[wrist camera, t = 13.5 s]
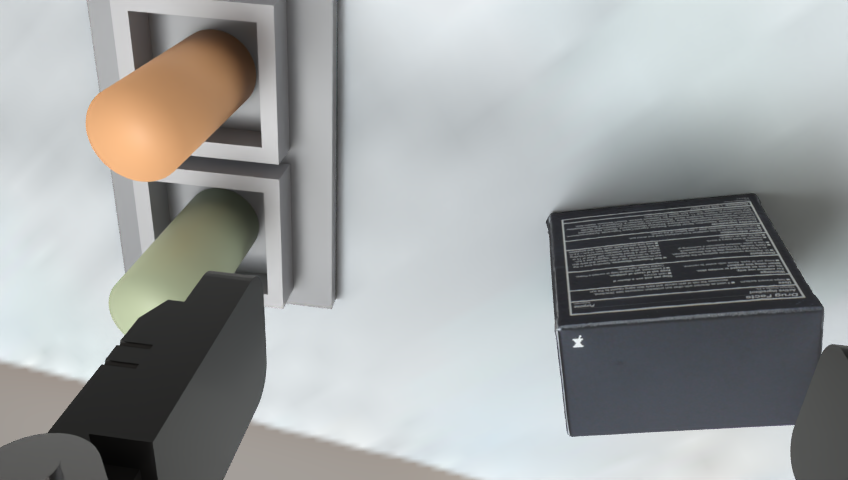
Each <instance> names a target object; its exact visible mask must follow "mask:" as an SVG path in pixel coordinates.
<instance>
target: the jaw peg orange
mask: <svg viewBox="0 0 848 480" xmlns="http://www.w3.org/2000/svg"><path fill="white" fill-rule="evenodd" d="M255 83H256V68H255V64H254V61H253V59H252V57H251V55H250V53H249V51H248V50H247V48H246V47H245V46H244V45H243V44H242V43H241V42H240V41H239V40H238V39H236V38H235V37H234V36H232V35H230V34H228V33H226V32H223V31H220V30H214V29H207V30H201V31H198V32H196V33H194V34H192V35H190V36H189V37H187V38H186V39H184V40H182V41H181V42H179V43H178V44H176V45H174V46H173V47H171V48H170V49H168V50H167V51H165V52H163V53H162V54H160V55H159V56H157V57H155V58H154V59H152V60H151V61H149V62H148V63H146V64H144V65H143V66H141V67H140V68H138V69H136V70H135V71H133V72H132V73H130V74H129V75H127V76H125V77H124V78H122V79H121V80H119V81H117V82H116V83H114V84H113V85H111V86H110V87H108V88H106V89H105V90H103V91H102V92H100V93H99V94H98V95H97V96H96V97H95V98H94V99H93V100H92V102H91V104H90V105H89V108H88V111H87V115H86V131H87V135H88V138H89V141H90V144H91V146H92V148H93V150H94V151H95V153H96V154H97V156H98V157H99V158H100V159H101V160H102V162H103V163H104V164H105V165H107V166H108V167H109V168H110V169H111V170H113V171H114V172H116V173H117V174H119V175H121V176H123V177H126V178H128V179H131V180H135V181H140V182H152V181H157V180H161V179H163V178H166V177H167V176H169V175H170V174H172V173H173V172H174V171H175V170H176V169H177V168H178V167H179V166H180V165H181V164H182V163H183V162H184V161H185V160H186V159H187V158H188V157H189V156H190V155H191V154H192V153H193V152H195V151H196V150H197V149H198V148H199V147H200V146H201V145H202V144H203V143H204V142H205V141H206V140H207V139H208V138H209V137H210V136H211V135H212V134H213V133H214V132H215V131H216V130H217V129H218V128H219V127H220V126H221V125H222V124H223V123H224V122H225V121H226V120H227V119H228V118H229V117H230V116H231V115H232V114H233V113H234V112H235V111H236V110H237V109H238V108H239V107H240V106H241V105H242V104H243V103H244V102H245V101H246V100H247V99H248V98H249V97H250V96H251V94H252V92H253V90H254V87H255Z"/></svg>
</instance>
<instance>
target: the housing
mask: <svg viewBox="0 0 848 480" xmlns="http://www.w3.org/2000/svg"><path fill="white" fill-rule="evenodd" d="M87 6H88V13H89V21H90V28H91V35H92V42H93V49H94V56H95V63H96V70H97V77H98V84H99V91H100V92H102V91H103V90H105V89H106V88H108V87H110V86H111V85H113V84H114V83H116V82H117V81H119V80H121V79H122V78H124V77H125V76H127V75H129V74H130V73H132V72H133V71H135V70H136V69H138V68H140V67H141V66H143V65H144V64H146V63H148V62H149V61H151V60H152V59H154V58H155V57H157V56H159V55H160V54H162V53H163V52H165V51H167V50H168V49H170V48H171V47H173V46H174V45H176V44H178V43H179V42H181V41H182V40H184V39H186V38H187V37H189V36H190V35H192V34H194V33H196V32H198V31H201V30H207V29H214V30H220V31H223V32H226V33H228V34H230V35H232V36H234V37H235V38H236V39H238V40H239V41H240V42H241V43H242V44H243V45H244V46H245V47H246V48H247V50H248V51H249V53H250V55H251V57H252V59H253V61H254V64H255V68H256V83H255V87H254V90H253V92H252V94H251V96H250V97H249V98H248V99H247V100H246V101H245V102H244V103H243V104H242V105H241V106H240V107H239V108H238V109H237V110H236V111H235V112H234V113H233V114H232V115H231V116H230V117H229V118H228V119H227V120H226V121H225V122H224V123H223V124H222V125H221V126H220V127H219V128H218V129H217V130H216V131H215V132H214V133H213V134H212V135H211V136H210V137H209V138H208V139H207V140H206V141H205V142H204V143H203V144H202V145H201V146H200V147H199V148H198V149H197V150H196V151H195V152H193V153H192V154H191V155H190V156H189V157H188V158H187V159H186V160H185V161H184V162H183V163H182V164H181V165H180V166H179V167H178V168H177V169H176V170H175V171H174V172H173V173H172V174H170V175H169V176H167V177H166V178H163V179H161V180H157V181H152V182H140V181H135V180H131V179H128V178H126V177H123V176H121V175H119V174H117V173H116V172H114V171H113V170H111V176H112V183H113V190H114V197H115V204H116V211H117V219H118V226H119V233H120V240H121V247H122V254H123V261H124V268H125V273H126V272H127V271H128V270H129V269H130V268H131V267H132V266H133V264H134V263H135V262H136V261H137V260H138V259H139V258H140V257H141V256H142V254H143V253H144V252H145V251H146V250H147V249H148V248H149V247H150V245H151V244H152V243H153V242H154V241H155V240H156V239H157V238H158V237H159V235H160V234H161V233H162V232H163V231H164V230H165V229H166V228H167V227H168V225H169V224H170V223H171V222H172V221H173V220H174V219H175V218H176V216H177V215H178V214H179V213H180V212H181V211H182V210H183V209H184V208H185V206H186V205H187V204H188V203H189V202H190V201H191V200H192V199H193V198H194V197H195V195H197V194H198V193H200V192H201V191H204V190H206V189H211V188H222V189H227V190H230V191H233V192H235V193H237V194H239V195H240V196H242V197H243V198H244V199H245V200H246V201H247V202H248V203H249V204H250V205H251V206H252V208H253V209H254V211H255V213H256V215H257V218H258V222H259V232H258V236H257V239H256V240H255V242H254V244H253V245H252V247H251V248H250V250H249V251H248V253H247V254H246V256H245V257H244V259H243V260H242V262H241V263H240V265H239V267H238V268H237V270H236V271H235V274H243V275H252V276H259V277H260V279H261V281H262V284H263V293H264V307H271V308H280V309H283V308H284V306H285V304H293V305H302V306H310V307H319V308H327V309H332V307H333V304H334V302H335V294H336V141H337V0H87Z"/></svg>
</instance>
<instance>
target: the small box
mask: <svg viewBox="0 0 848 480" xmlns="http://www.w3.org/2000/svg"><path fill="white" fill-rule="evenodd" d="M546 224H547V228H548V234H549V239H550V257H551V274H552V289H553V303H554V316H555V334H556V340H557V349H558V359H559V366H560V375H561V383H562V392H563V402H564V413H565V419H566V428H567V433H568V435H569V436H571V437H575V436H592V435H612V434H628V433H645V432H664V431H683V430H703V429H722V428H741V427H761V426H783V425H795V423H796V421H797V418H798V415H799V413H800V410H801V407H802V404H803V402H804V399H805V396H806V394H807V391H808V388H809V385H810V383H811V380H812V377H813V375H814V372H815V369H816V366H817V364H818V361H819V359H820V356H821V352H822V337H823V322H824V307H823V306H822V304H821V303H820V301H819V299H818V298H817V297H816V296H815V295H814V294H813V293H812V290H811V289H810V287H809V285H808V284H807V283H806V281H805V280H804V278H803V276H802V275H801V273H800V271H799V270H798V269H797V266H796V264H795V262H794V260H793V258H792V257H791V255H790V254H789V252H788V250H787V249H786V247H785V245H784V244H783V242H782V240H781V239H780V237H779V235H778V233H777V232H776V230H775V229H774V227H773V225H772V223H771V221H770V219H769V218H768V217H767V215H766V214H765V211H764V210H763V208H762V206H761V203H760V200H759V198H758V197H757V195H755V194H747V195H735V196H725V197H713V198H704V199H694V200H684V201H673V202H663V203H654V204H643V205H633V206H622V207H613V208H603V209H592V210H583V211H574V212H565V213H553V214H551V215H550V216H549V217H548V219H547V221H546Z"/></svg>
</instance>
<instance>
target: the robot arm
mask: <svg viewBox="0 0 848 480" xmlns="http://www.w3.org/2000/svg"><path fill="white" fill-rule="evenodd" d="M266 364H267V363H266V338H265V315H264V293H263V284H262V281H261V279H260V277H259V276H252V275H243V274H235V273H226V272H217V271H207V272H206V273H205V274H204V275H203V276H202V278H201V279H200V281H199V282H198V283H197V285H196V286H195V288H194V289H193V290H192V292H191V293H190V294H189V296H188V297H187V299H186V300H185V301H184V302H183V301H175V300H167V301H165V302H163V303H162V304H160V305H159V306H157V307H155V308H154V309H152V310H150V311H149V312H147V313H146V314H144V315H142V316H141V317H139V318H138V319H137V320H136V322H135V323H134V324H133V325H132V327H131V328H130V329H129V330H128V332H127V333H126V334H125V336H124V337H123V338H122V339H121V341H120V346H119V345H117V346H116V347H115V348H114V349H113V351H112V352H111V353H110V354H109V356H108V357H107V358H106V360H105V365H101V366H100V367H99V368H98V370H97V371H96V372H95V373H94V375H93V376H92V377H91V379H90V380H89V381H88V382H87V384H86V385H85V386H84V387H83V389H82V390H81V391H80V392H79V394H78V395H77V396H76V398H75V399H74V400H73V401H72V403H71V404H70V405H69V406H68V408H67V409H66V410H65V411H64V413H63V414H62V415H61V416H60V418H59V419H58V420H57V422H56V423H55V424H54V425H53V427H52V428H51V429H50V430H49V432H48V433H46V434H38V435H33V436H29V437H25V438H22V439H19V440H16V441H13V442H11V443H9V444H7V445H4V446H2V447H1V448H0V480H223V479H224V477H225V475H226V473H227V470H228V468H229V466H230V464H231V462H232V460H233V458H234V456H235V453H236V451H237V449H238V447H239V445H240V443H241V441H242V438H243V436H244V434H245V432H246V430H247V428H248V426H249V424H250V421H251V419H252V417H253V415H254V413H255V411H256V409H257V407H258V404H259V402H260V399H261V396H262V392H263V388H264V383H265V377H266ZM791 464H792V469H793V473H794V476H795V479H796V480H848V346H844V345H835V344H832V345H829V346H828V347H826V348H825V350H824V351H823V352H822V354H821V356H820V359H819V361H818V364H817V366H816V369H815V372H814V375H813V377H812V380H811V383H810V385H809V388H808V391H807V394H806V396H805V399H804V402H803V404H802V407H801V410H800V413H799V415H798V418H797V421H796V423H795V426H794V429H793V433H792V438H791Z"/></svg>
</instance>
